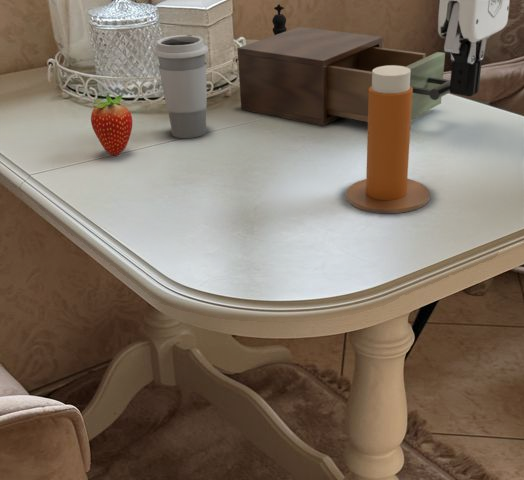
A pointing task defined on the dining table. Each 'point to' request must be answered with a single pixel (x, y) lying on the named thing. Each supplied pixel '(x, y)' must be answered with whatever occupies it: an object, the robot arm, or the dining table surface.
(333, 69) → the drawer
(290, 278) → the dining table surface
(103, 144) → the fruit
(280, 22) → the chess piece
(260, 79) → the cabinet
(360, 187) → the coaster
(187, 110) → the cup
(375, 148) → the pill bottle
